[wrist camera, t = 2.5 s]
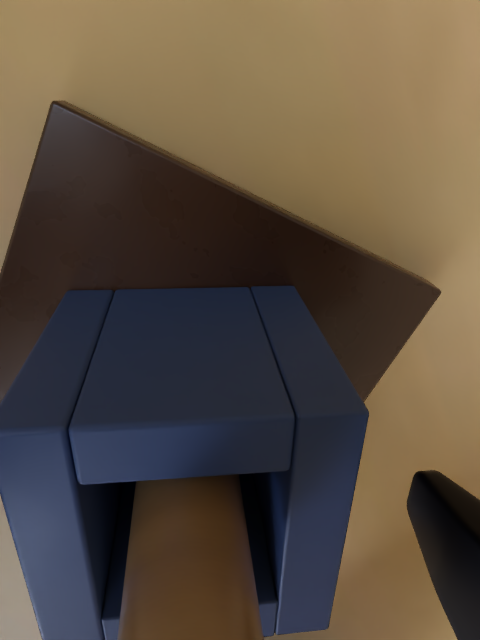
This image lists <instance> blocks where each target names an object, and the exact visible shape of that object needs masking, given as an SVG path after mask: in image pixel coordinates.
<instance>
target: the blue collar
mask: <svg viewBox="0 0 480 640" xmlns="http://www.w3.org/2000/svg"><path fill="white" fill-rule="evenodd" d="M368 417H369V412H368V409H367V408H366V406H365V404H364V403H363V401H362V399H361V398H360V396H359V394H358V393H357V391H356V389H355V388H354V386H353V384H352V383H351V381H350V379H349V377H348V376H347V374H346V372H345V371H344V369H343V367H342V366H341V364H340V362H339V361H338V359H337V357H336V356H335V354H334V352H333V351H332V349H331V347H330V346H329V344H328V342H327V340H326V339H325V337H324V335H323V334H322V332H321V330H320V329H319V327H318V325H317V324H316V322H315V320H314V319H313V317H312V315H311V314H310V312H309V310H308V308H307V307H306V305H305V303H304V302H303V300H302V298H301V297H300V295H299V293H298V292H297V290H296V288H295V287H294V286H253V287H251V289H250V288H248V287H223V288H172V289H120V290H116V291H115V293H114V292H113V290H71V291H67V292H66V293H65V295H64V296H63V298H62V300H61V301H60V303H59V305H58V307H57V308H56V310H55V312H54V313H53V315H52V317H51V318H50V320H49V322H48V323H47V325H46V327H45V329H44V330H43V332H42V334H41V335H40V337H39V339H38V340H37V342H36V344H35V346H34V347H33V349H32V351H31V352H30V354H29V356H28V357H27V359H26V361H25V363H24V364H23V366H22V368H21V369H20V371H19V373H18V374H17V376H16V378H15V379H14V381H13V383H12V385H11V386H10V388H9V390H8V391H7V393H6V395H5V396H4V398H3V400H2V402H1V403H0V495H1V498H2V502H3V505H4V509H5V512H6V516H7V519H8V523H9V526H10V529H11V533H12V536H13V540H14V543H15V547H16V550H17V554H18V557H19V561H20V564H21V568H22V571H23V575H24V578H25V581H26V585H27V588H28V592H29V595H30V599H31V602H32V606H33V609H34V613H35V616H36V620H37V623H38V626H39V630H40V633H41V637H42V640H117V638H118V629H119V621H120V612H121V604H122V595H123V587H124V578H125V570H126V562H127V553H128V545H129V536H130V528H131V519H132V511H133V502H134V494H135V485H136V481H147V480H162V479H176V478H191V477H206V476H220V475H235V474H239V479H240V485H241V492H242V498H243V505H244V512H245V518H246V525H247V531H248V538H249V545H250V551H251V558H252V564H253V571H254V577H255V584H256V591H257V597H258V604H259V610H260V617H261V624H262V630H263V637H267V636H273V635H274V632H275V633H276V634H277V635H281V634H290V633H299V632H308V631H317V630H326V629H328V627H329V621H330V616H331V611H332V606H333V600H334V595H335V590H336V585H337V579H338V574H339V569H340V564H341V558H342V553H343V548H344V543H345V537H346V532H347V527H348V522H349V516H350V511H351V506H352V501H353V495H354V490H355V485H356V480H357V474H358V469H359V464H360V459H361V453H362V448H363V443H364V438H365V432H366V427H367V422H368Z"/></svg>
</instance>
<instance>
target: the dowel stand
mask: <svg viewBox="0 0 480 640" xmlns="http://www.w3.org/2000/svg"><path fill="white" fill-rule="evenodd" d="M253 286H294V287H295V288H296V290H297V292H298V293H299V295H300V297H301V298H302V300H303V302H304V303H305V305H306V307H307V308H308V310H309V312H310V314H311V315H312V317H313V319H314V320H315V322H316V324H317V325H318V327H319V329H320V330H321V332H322V334H323V335H324V337H325V339H326V340H327V342H328V344H329V346H330V347H331V349H332V351H333V352H334V354H335V356H336V357H337V359H338V361H339V362H340V364H341V366H342V367H343V369H344V371H345V372H346V374H347V376H348V377H349V379H350V381H351V383H352V384H353V386H354V388H355V389H356V391H357V393H358V394H359V396H360V398H361V399H362V401H363V402H364V401H365V399H366V398H367V397H368V395H369V394H370V392H371V391H372V390H373V388H374V387H375V385H376V384H377V383H378V381H379V380H380V378H381V377H382V376H383V374H384V373H385V371H386V370H387V369H388V367H389V366H390V364H391V363H392V362H393V360H394V359H395V357H396V356H397V354H398V353H399V352H400V350H401V349H402V347H403V346H404V345H405V343H406V342H407V340H408V339H409V338H410V336H411V335H412V333H413V332H414V331H415V329H416V328H417V326H418V325H419V324H420V322H421V321H422V319H423V318H424V316H425V315H426V314H427V312H428V311H429V309H430V308H431V307H432V305H433V304H434V302H435V301H436V300H437V298H438V297H439V295H440V294H441V291H440V289H438V288H437V287H436V286H434V285H433V284H432V283H430V282H429V281H428V280H426V279H424V278H422V277H420V276H418V275H416V274H413V273H411V272H409V271H407V270H405V269H403V268H401V267H399V266H397V265H395V264H393V263H391V262H389V261H387V260H385V259H383V258H381V257H379V256H377V255H375V254H373V253H371V252H369V251H367V250H365V249H363V248H361V247H359V246H357V245H355V244H353V243H351V242H349V241H347V240H345V239H343V238H341V237H339V236H337V235H335V234H333V233H331V232H329V231H326V230H324V229H322V228H320V227H318V226H316V225H314V224H312V223H310V222H308V221H306V220H304V219H302V218H300V217H298V216H296V215H294V214H292V213H290V212H288V211H286V210H284V209H282V208H280V207H278V206H276V205H274V204H272V203H270V202H268V201H266V200H264V199H262V198H260V197H258V196H256V195H254V194H252V193H250V192H248V191H246V190H244V189H242V188H239V187H237V186H235V185H233V184H231V183H229V182H227V181H225V180H223V179H221V178H219V177H217V176H215V175H213V174H211V173H209V172H207V171H205V170H203V169H201V168H199V167H197V166H195V165H193V164H191V163H189V162H187V161H185V160H183V159H181V158H179V157H177V156H175V155H173V154H171V153H169V152H167V151H165V150H163V149H161V148H159V147H157V146H155V145H152V144H150V143H148V142H146V141H144V140H142V139H140V138H138V137H136V136H134V135H132V134H130V133H128V132H126V131H124V130H122V129H120V128H118V127H116V126H114V125H112V124H110V123H108V122H106V121H104V120H102V119H100V118H98V117H96V116H94V115H92V114H90V113H88V112H86V111H84V110H82V109H80V108H78V107H76V106H74V105H72V104H70V103H68V102H65V101H53V102H52V103H51V105H50V108H49V112H48V115H47V118H46V122H45V125H44V128H43V132H42V135H41V138H40V142H39V145H38V149H37V152H36V155H35V159H34V162H33V165H32V169H31V172H30V175H29V179H28V182H27V186H26V189H25V192H24V196H23V199H22V202H21V206H20V209H19V212H18V216H17V219H16V223H15V226H14V229H13V233H12V236H11V239H10V243H9V246H8V249H7V253H6V256H5V260H4V263H3V266H2V270H1V273H0V403H1V402H2V400H3V398H4V396H5V395H6V393H7V391H8V390H9V388H10V386H11V385H12V383H13V381H14V379H15V378H16V376H17V374H18V373H19V371H20V369H21V368H22V366H23V364H24V363H25V361H26V359H27V357H28V356H29V354H30V352H31V351H32V349H33V347H34V346H35V344H36V342H37V340H38V339H39V337H40V335H41V334H42V332H43V330H44V329H45V327H46V325H47V323H48V322H49V320H50V318H51V317H52V315H53V313H54V312H55V310H56V308H57V307H58V305H59V303H60V301H61V300H62V298H63V296H64V295H65V293H66V292H67V291H71V290H113V292H114V293H115V291H116V290H120V289H172V288H223V287H248V288H250V289H251V287H253ZM117 640H264V637H263V630H262V624H261V617H260V610H259V604H258V597H257V591H256V584H255V577H254V571H253V564H252V558H251V551H250V545H249V538H248V531H247V525H246V518H245V512H244V505H243V498H242V492H241V485H240V479H239V474H235V475H220V476H206V477H191V478H176V479H162V480H147V481H136V485H135V494H134V502H133V511H132V519H131V528H130V536H129V545H128V553H127V562H126V570H125V578H124V587H123V595H122V604H121V612H120V621H119V629H118V638H117Z"/></svg>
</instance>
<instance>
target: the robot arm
mask: <svg viewBox="0 0 480 640" xmlns="http://www.w3.org/2000/svg"><path fill="white" fill-rule="evenodd" d="M407 510H408V514H409V517H410V520H411V523H412V526H413V529H414V531H415V534H416V537H417V540H418V543H419V546H420V549H421V551H422V554H423V557H424V560H425V563H426V566H427V568H428V571H429V574H430V577H431V580H432V582H433V585H434V588H435V590H436V593H437V595H438V597H439V600H440V602H441V604H442V607H443V609H444V611H445V613H446V615H447V617H448V620H449V622H450V624H451V626H452V628H453V630H454V633H455V635H456V637H457V639H458V640H480V500H479V499H477V498H476V497H475V496H473V495H472V494H470V493H469V492H467V491H466V490H465V489H463V488H462V487H460V486H459V485H457V484H456V483H455V482H453V481H452V480H450V479H449V478H447V477H446V476H445V475H443V474H442V473H440V472H438V471H435V470H429V471H418V472H416V473H415V474H414V477H413V480H412V484H411V487H410V491H409V495H408V499H407Z"/></svg>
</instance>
